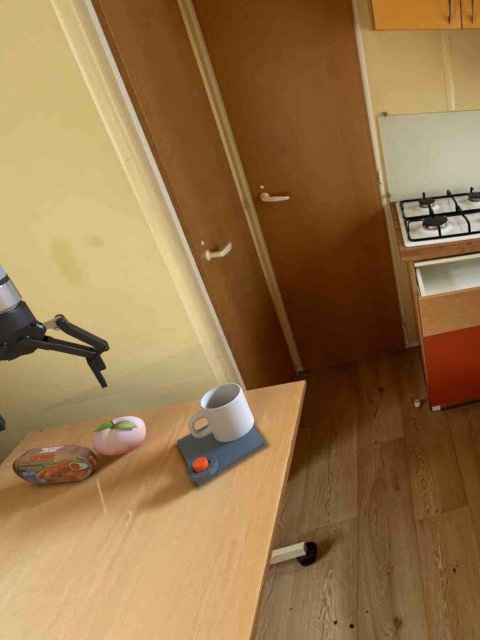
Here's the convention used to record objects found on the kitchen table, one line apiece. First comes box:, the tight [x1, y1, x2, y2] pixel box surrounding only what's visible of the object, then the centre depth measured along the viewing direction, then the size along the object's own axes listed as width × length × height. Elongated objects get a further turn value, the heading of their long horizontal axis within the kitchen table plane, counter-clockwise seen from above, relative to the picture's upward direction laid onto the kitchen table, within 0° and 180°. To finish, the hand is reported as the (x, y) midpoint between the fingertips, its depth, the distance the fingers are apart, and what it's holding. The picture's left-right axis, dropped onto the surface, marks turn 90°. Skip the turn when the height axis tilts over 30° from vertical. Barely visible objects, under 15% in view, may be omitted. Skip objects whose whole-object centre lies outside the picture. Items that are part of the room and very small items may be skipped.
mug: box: [187, 382, 255, 442], centre depth 100 cm, size 12×8×11 cm
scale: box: [176, 423, 267, 487], centre depth 100 cm, size 15×17×3 cm
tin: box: [11, 444, 99, 485], centre depth 92 cm, size 15×3×8 cm, turn 95°
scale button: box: [192, 457, 209, 473], centre depth 93 cm, size 3×3×2 cm
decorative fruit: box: [92, 415, 147, 456], centre depth 98 cm, size 9×8×10 cm
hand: (56, 404), depth 78 cm, fingers open, 13 cm apart
